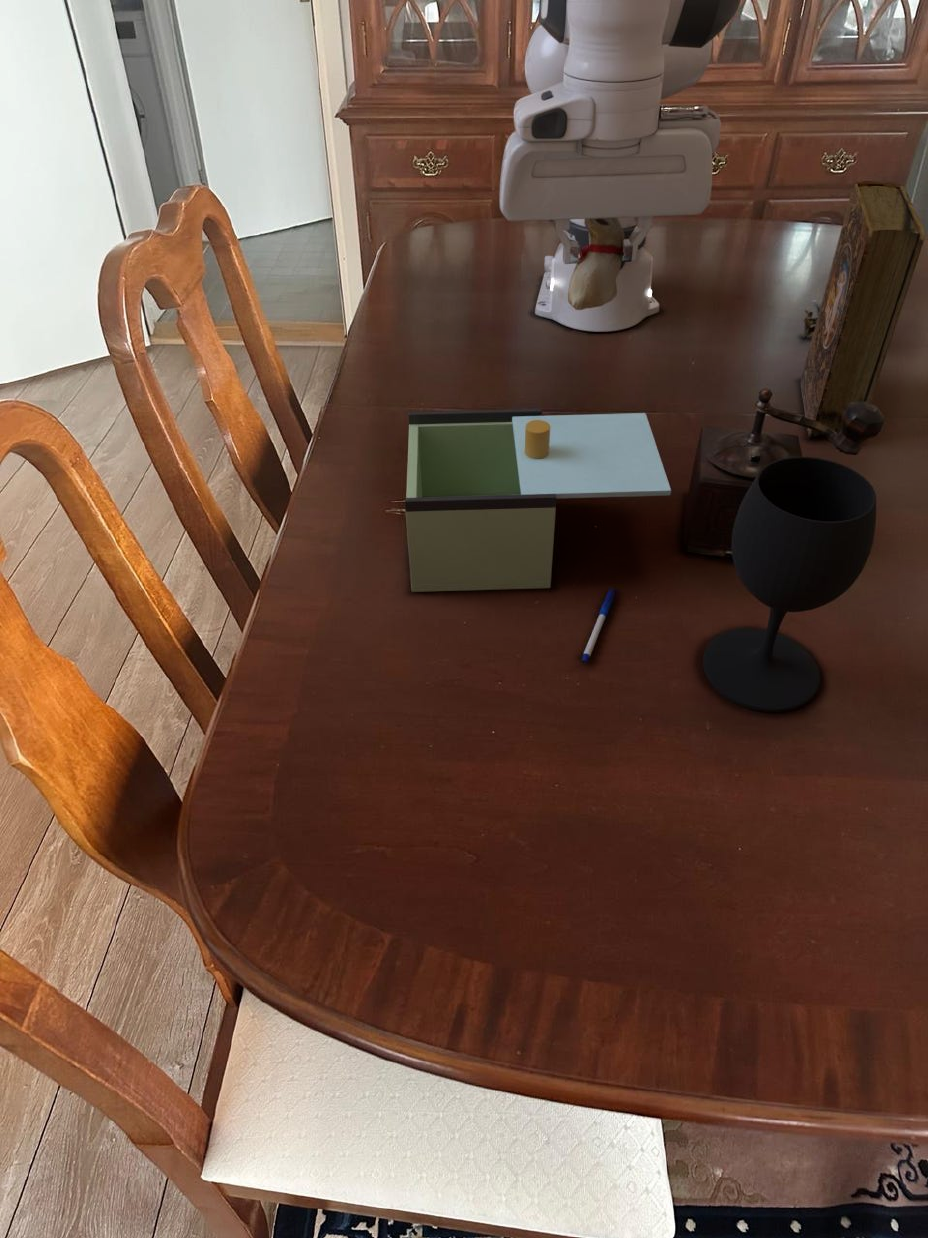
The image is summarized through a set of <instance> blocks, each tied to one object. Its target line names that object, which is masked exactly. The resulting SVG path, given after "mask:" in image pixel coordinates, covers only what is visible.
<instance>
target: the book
mask: <svg viewBox="0 0 928 1238" xmlns="http://www.w3.org/2000/svg"><path fill="white" fill-rule="evenodd" d="M916 211H917V210H916V209H915V207H914V205H913V203H912V200H911V199H910V196H909V193H908V191H907V190H906V187H905V185H903V184H901V183H895V182H890V181H880V180H862V181H857V182H854V183H853V184H852V188H851V192H850V195H849V199H848V203H847V207H846V209H845V214H844V217H843V222H842V225H841V229H840V232H839V236H838V241H837V244H836V247H835V252H834V254H833V259H832V263H831V267H830V270H829V274H828V278H827V281H826V284H825V289H824V293H823V296H822V300H821V303H820V306H821V307H820V311H819V315H817V317H818V318H817V317H816V318H817V322H816V324H815V325H816V326H815V325H814V326H815V330H814V332H813V333H812V338H811V342H810V345H809V349H808V352H807V356H806V360H805V363H804V368H803V371H802V375H801V378H800V388H801V394H802V396H801V397H802V402H803V408H804V409H803V410H804V417H806V418H809V419H812V420H815V421H818V422H820V423H823V424H825V425H827V426H828V427H830V428H831V429H833V430H834V431H835V432H837V433H839V432H840V431H841V429H842V412H843V409H844V407H845V406H846V405H848V404H849V403H850V402H853V401H864V402H869V403H872V400H873V396H874V393H875V390H876V387H877V384H878V381H879V378H880V375H881V373H882V370H883V366H884V363H885V359H886V357H887V354H888V350H889V347H890V345H891V342H892V339H893V336H894V332H895V329H896V327H897V323H898V320H899V318H900V315H901V313H902V312H901V311H902V309H903V305H904V303H905V299H906V296H907V293H908V290H909V287H910V284H911V281H912V278H913V276H914V272H915V269H916V266H917V263H918V261H919V257H920V254H921V251H922V248H923V245H924V242H925V237H926V232H925V229H924V227H923V225H922V222H921V220H920V218H919V215H918V214H917V212H916ZM806 430H807V434H808V438H809V439H813V438H816V437H821V436H824V435H822V434H821V433H819V432H817V431H815V430H812V429H810V428H806ZM824 437H825V436H824Z"/></svg>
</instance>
